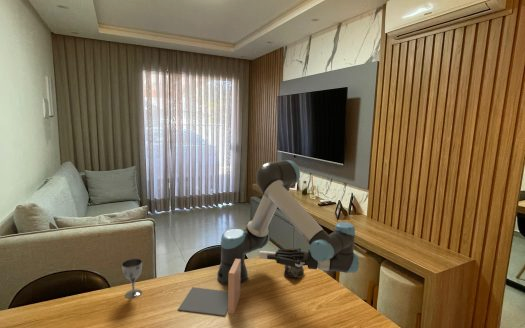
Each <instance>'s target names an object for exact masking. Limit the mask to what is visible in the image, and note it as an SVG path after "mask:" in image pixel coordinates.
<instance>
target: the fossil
mask: <svg viewBox="0 0 525 328" xmlns="http://www.w3.org/2000/svg"><path fill="white" fill-rule="evenodd" d="M283 267H284V270H283V272H284V273H283V276H284V277H289V278H291V277H293V278H294V279H301V278H302V277H303V276H304V273H305V270H304V267H303V265H301V266H300V269H298V268H295V267H292V266H287V265H283Z"/></svg>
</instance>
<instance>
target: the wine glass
mask: <svg viewBox="0 0 525 328" xmlns="http://www.w3.org/2000/svg"><path fill="white" fill-rule="evenodd" d="M121 269H122V273H123V276H124V278H125V279H127V280H129V282H130V283H131V288H132V289H131V290H129V291H128V290H127V292H125V294H124V297H125V298H126V299H129V300H132V299H136V298H138V297H140V296H141V295H142V294H143V290H141V289H139V288H135V282H136V280H137V279H138V278H139V277H140V276H141V273H142V270H143V261H142V259H141V258H129V259H126V260H124V261H123V262H122V264H121Z"/></svg>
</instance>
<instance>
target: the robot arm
mask: <svg viewBox="0 0 525 328" xmlns="http://www.w3.org/2000/svg"><path fill="white" fill-rule="evenodd" d="M300 177H301V172H300V168H299V166H298V165H297V164H296V162H294V161H293V160H290V159H289V160H288V159H287V160H286V159H283V160H278V161H272V162H271V161H270V162H269V161H268V162H265V163H263V164H261V165H260V166H259V168H258V169H257V170H256V174H255V182H256V185H257V188H258V189H259V190H260V192H261V194H262V198H261V200H260V202H259V205H258V207H257V209H256V211H255V214H254V216H253V218H252V220H250V221H248V223H247V225H246V227H245V229H241V228H231V229H228V230H226V231H224V232H223V233H222V234H221V239H220V240H221V241H220V264H219V267H218V270H217V277H216V278H217V281H218V282H219V283H222V284H223V285H227V286H228V275H229V271H230V269H231V267H232V265H233V263H234V261H235V259H241V277H240V285H241V284H242V283H244V282H246V281H247V279H248V274H249V273H248V269H247V266H246V263H245V255H247V254H249V253H252V252H254V251H256V250H259V249H262V248H264V247H265V246H266V245H267V244H268V243H269V242H270V232H269V228H268V227H269V226H270V223H271V221H272V219H273V217H274V215H275V213H276V211H277V209H279V211H280V212H281V213H282V214H283V215H284V217H285V218H286V219H287V220H288V221H289V222H290V224H292V225H293V227H294V228H295V229H296V231H298V233H299V234H300V235H301V236H302V238H304V240H305V241H306V242H307V243H308V244H309V249H308V251H307V252H306V251H302V249H301V248H300V247H299V248H287V249H286V248H284V249H281V248H280V249H277V251H269V250H259V257H258V258H259V260H260V259H261V260H262V259H263V260H270V261H271V260H273V261H275V262H276V264H279V265H283V266H285V265H287V266H292V267H295V268H298V269H300V266H307V269H308V270H317V269H318V270H319V271H324V272H325V271H330V272H338V273H339V272H340V273H346V274H348V273H349V274H350V273H351V274H353V273H354V274H355V273H357V272H358V271H359V268H360V266H359V265H360V264H359V263H360V262H359V261H360V259H359V254H358V253H356V252H354V249H355V239H356V227H355V226H354V225H353V224H352V223H350V222H344V221H342V222H341V221H339V222H337V223H336V224H335V227H334V231H333V232H331V233H328V232H327V231H325V229H323V227H322V226H321V225H320V224H319V223H318V222H317V221H316V220H315V219H314V218H313V216H312V215H311V214H310V213H309V212H308V211H307V210H306V209H305V207H303V206H302V204H301V203H300V202H299V201H298V200H297V199H296V198H295V197H294V196H293V195H292V194H291V193H290V192H289V191H290V189H291V187H292V185H295V184H297V183H298V182H299V181H300Z"/></svg>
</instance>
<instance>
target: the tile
mask: <svg viewBox="0 0 525 328" xmlns="http://www.w3.org/2000/svg"><path fill="white" fill-rule="evenodd" d="M240 277H241V259H235V261H234V263H233V265H232V267H231V269H230V271H229V275H228V285H227V286H228V287H227V289H228V290H227V291H228V310H227V314H229V315H234V314H235V311H236V309H237V306H238V303H239V300H240V299H241V284H240Z"/></svg>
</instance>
